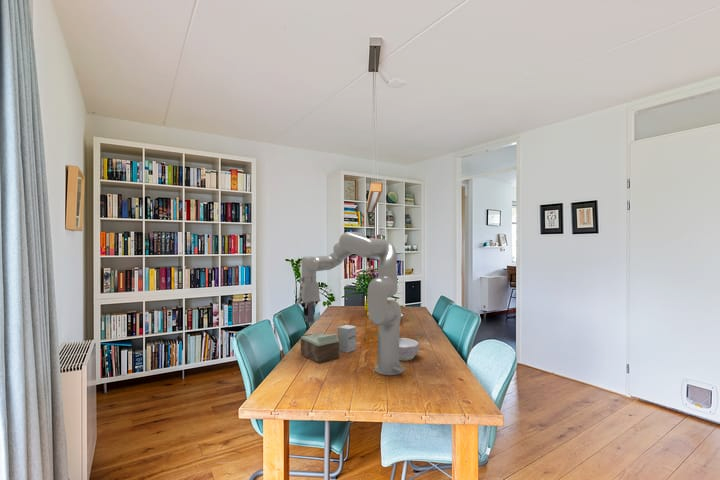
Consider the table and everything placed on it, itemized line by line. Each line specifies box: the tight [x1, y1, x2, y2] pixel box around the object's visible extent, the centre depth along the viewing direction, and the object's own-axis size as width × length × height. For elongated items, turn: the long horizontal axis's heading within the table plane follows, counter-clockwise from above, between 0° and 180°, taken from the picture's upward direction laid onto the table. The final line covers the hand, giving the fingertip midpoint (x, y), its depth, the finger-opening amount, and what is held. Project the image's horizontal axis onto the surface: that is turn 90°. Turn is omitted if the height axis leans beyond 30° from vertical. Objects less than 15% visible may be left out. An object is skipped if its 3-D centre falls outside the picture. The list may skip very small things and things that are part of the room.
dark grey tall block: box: [304, 302, 315, 323], centre depth 184 cm, size 3×3×10 cm
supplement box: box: [337, 324, 357, 354], centre depth 186 cm, size 7×7×13 cm
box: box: [300, 333, 340, 365], centre depth 178 cm, size 22×12×8 cm, turn 39°
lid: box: [300, 332, 339, 346], centre depth 175 cm, size 16×12×4 cm
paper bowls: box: [399, 337, 420, 362], centre depth 175 cm, size 15×15×8 cm
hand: (309, 314), depth 184 cm, fingers closed on dark grey tall block, 3 cm apart
